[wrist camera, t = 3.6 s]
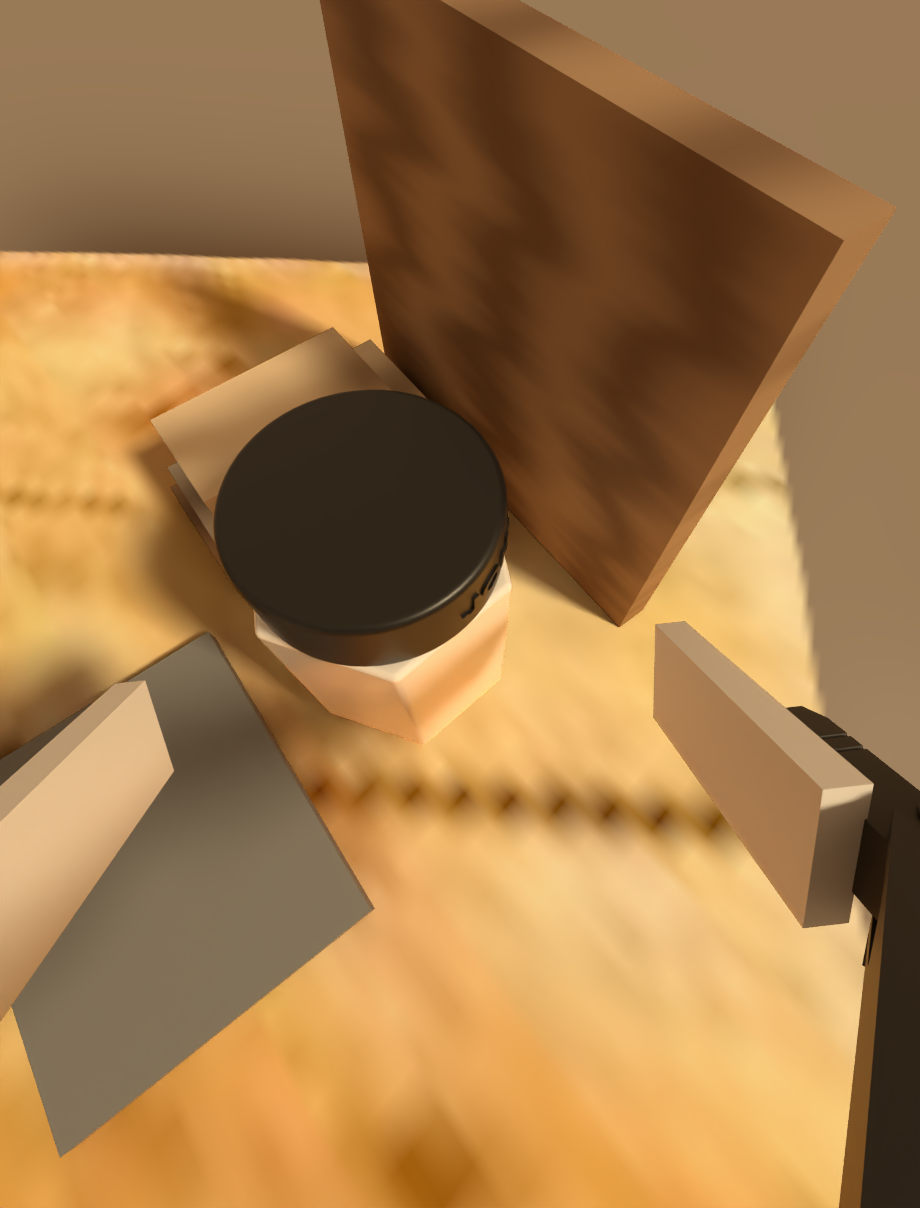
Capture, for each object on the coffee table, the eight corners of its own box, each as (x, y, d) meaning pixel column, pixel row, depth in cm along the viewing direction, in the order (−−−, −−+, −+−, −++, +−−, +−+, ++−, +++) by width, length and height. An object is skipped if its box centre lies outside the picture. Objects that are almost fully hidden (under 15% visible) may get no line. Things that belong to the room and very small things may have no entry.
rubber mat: (-40, 796, 24) (-56, 793, 23) (215, 638, 27) (207, 631, 26) (75, 1146, 19) (59, 1157, 18) (374, 908, 22) (370, 910, 21)
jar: (517, 726, 25) (548, 615, 14) (331, 764, 24) (211, 679, 13) (475, 551, 28) (474, 355, 18) (313, 581, 28) (209, 400, 17)
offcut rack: (179, 498, 30) (-170, 68, 14) (411, 371, 34) (347, -94, 17) (376, 809, 23) (139, 674, 7) (642, 609, 27) (897, 208, 11)
